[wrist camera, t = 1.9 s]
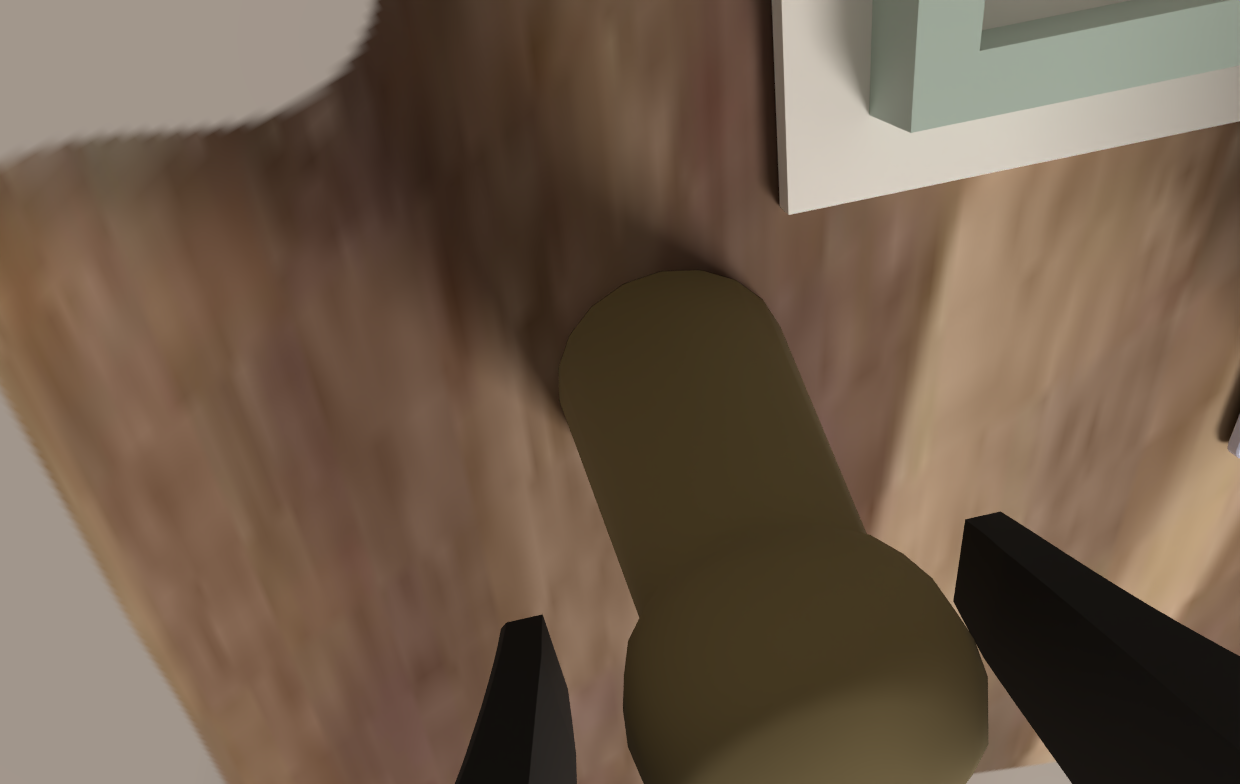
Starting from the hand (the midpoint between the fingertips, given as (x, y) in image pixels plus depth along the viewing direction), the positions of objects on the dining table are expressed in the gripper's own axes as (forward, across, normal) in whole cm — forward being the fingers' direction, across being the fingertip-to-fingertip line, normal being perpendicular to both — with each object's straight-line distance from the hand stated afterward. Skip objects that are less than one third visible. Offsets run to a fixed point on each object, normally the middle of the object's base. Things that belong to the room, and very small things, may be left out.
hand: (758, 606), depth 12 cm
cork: (+8, 0, 0) cm, 8 cm away
